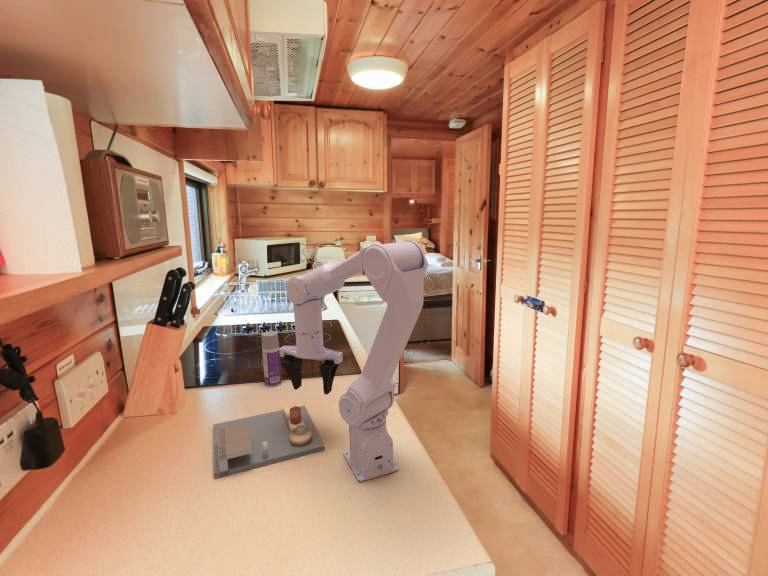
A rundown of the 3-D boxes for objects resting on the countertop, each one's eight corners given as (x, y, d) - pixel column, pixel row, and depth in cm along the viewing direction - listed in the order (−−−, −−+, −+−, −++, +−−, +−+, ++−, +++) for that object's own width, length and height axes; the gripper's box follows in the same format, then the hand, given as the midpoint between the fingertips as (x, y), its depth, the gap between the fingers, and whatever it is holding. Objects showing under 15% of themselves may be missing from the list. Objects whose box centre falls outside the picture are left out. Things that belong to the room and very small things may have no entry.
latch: (314, 442, 82) (313, 422, 81) (292, 448, 80) (290, 427, 79) (299, 409, 96) (298, 392, 95) (280, 413, 94) (278, 396, 93)
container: (284, 380, 116) (280, 331, 113) (278, 387, 111) (274, 336, 108) (268, 379, 116) (264, 331, 113) (262, 386, 111) (258, 336, 109)
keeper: (253, 468, 76) (251, 448, 75) (220, 477, 73) (218, 456, 73) (249, 441, 85) (247, 423, 84) (219, 448, 82) (217, 429, 82)
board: (324, 450, 81) (323, 432, 80) (214, 478, 73) (212, 459, 72) (304, 409, 98) (303, 394, 98) (213, 428, 90) (211, 412, 89)
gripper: (347, 328, 85) (350, 386, 88) (290, 323, 90) (294, 378, 93) (332, 338, 79) (335, 401, 81) (271, 331, 84) (276, 391, 86)
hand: (312, 390), depth 87 cm, fingers open, 7 cm apart
